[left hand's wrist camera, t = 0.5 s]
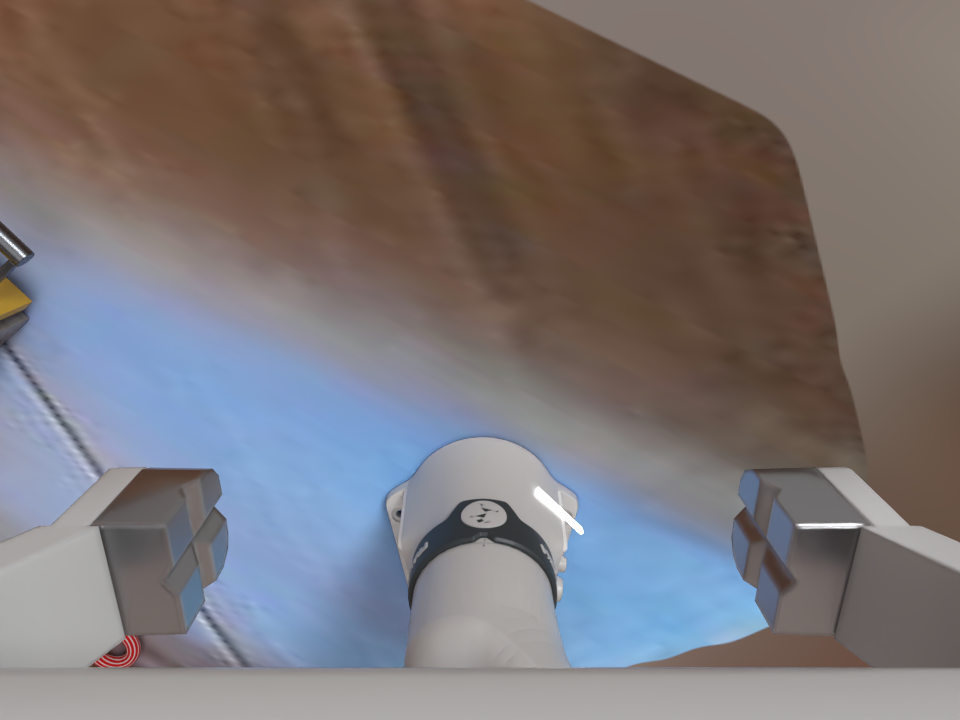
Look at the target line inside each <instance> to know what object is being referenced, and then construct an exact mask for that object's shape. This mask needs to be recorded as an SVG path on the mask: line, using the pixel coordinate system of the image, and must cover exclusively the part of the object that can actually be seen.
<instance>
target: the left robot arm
mask: <svg viewBox="0 0 960 720" xmlns="http://www.w3.org/2000/svg"><path fill="white" fill-rule="evenodd" d="M221 495H222V491H221V486H220V481H219V476H218V474H217V473H216V472H215V471H214V470H213V469H198V468H146V467H123V468H112V469H109V470H108V471H107V472H106V473H105V474H104V475H103V476H102V477H100V478H99V479H98V480H97V481H96V482H95V483H94V484H93V485H92V486H91V487H90V488H89V489H88V490H87V491H86V492H85V493H84V494H83V495H82V496H81V497H80V498H79V499H78V500H77V501H76V502H74V503H73V504H72V505H71V506H70V507H69V508H68V509H67V510H66V511H65V512H64V513H63V514H62V515H61V516H60V517H59V518H58V519H57V520H56V521H55V522H54V523H53V524H52V525H51V526H38V527H36V528H33V529H31V530H29V531H26V532H24V533H22V534H19V535H17V536H15V537H12V538H10V539H7V540H5V541H3V542H0V720H960V543H959V542H957V541H955V540H952V539H950V538H948V537H945V536H943V535H941V534H938V533H936V532H934V531H931V530H929V529H927V528H924V527H922V526H909V525H908V524H907V523H906V522H905V521H904V520H903V519H902V518H901V517H900V516H899V515H898V514H897V513H896V512H895V511H894V510H893V509H892V508H891V507H890V506H889V505H888V504H887V503H886V502H885V501H884V500H883V499H881V498H880V497H879V496H878V495H877V494H876V493H875V492H874V491H873V490H872V489H871V488H870V487H869V486H868V485H867V484H866V483H865V482H864V481H863V480H862V479H861V478H860V477H859V476H858V475H857V474H856V473H855V472H854V471H852V470H851V469H848V468H845V467H826V468H783V469H751V470H745V471H744V473H743V475H742V477H741V480H740V485H739V490H738V495H739V497H740V498H741V500H742V501H743V503H744V504H745V506H746V507H745V508H744V509H743V510H742V511H741V512H740V513H739V514H738V515H737V516H736V517H735V518H734V522H733V530H732V548H733V557H734V560H735V563H736V566H737V569H738V571H739V573H740V575H741V577H742V578H743V580H744V581H746V582H747V583H749V584H750V585H752V586H753V587H755V588H757V592H756V598H755V602H756V604H757V605H758V607H759V609H760V611H761V612H762V614H763V616H764V618H765V619H766V621H767V623H768V625H769V627H770V628H771V630H772V632H773V634H791V635H827V636H835V637H834V638H835V639H836V640H837V641H838V642H840V643H841V644H842V645H844V646H845V647H846V648H847V649H849V650H850V651H851V652H853V653H854V654H855V655H857V656H858V657H859V658H860V659H862V660H863V661H864V662H866V663H867V664H868V665H870V666H871V667H872V668H572V666H571V665H570V663H569V661H568V659H567V656H566V653H565V650H564V646H563V643H562V639H561V635H560V631H559V627H558V623H557V618H556V613H555V608H556V603H557V602H558V601H560V600H561V597H562V592H563V580H562V578H560V577H557V574H558V572H565V570H566V564H567V560H566V557H563V555H564V552H565V551H566V550H567V542H568V539H569V536H570V533H571V530H572V527H573V528H574V529H575V530H576V531H577V532H578V533H580V534H583V529H582V527H581V526H580V525H579V524H578V523H577V522H576V521H574V520H575V517H576V514H577V510H578V499H577V496H576V495H575V494H574V493H573V492H572V491H570V490H569V489H567V488H566V487H564V486H563V485H561V484H559V483H557V482H556V481H555V480H554V479H553V478H552V477H551V475H550V474H549V472H548V471H547V469H546V468H545V467H544V465H543V464H542V463H541V462H540V461H539V460H538V459H537V458H536V457H535V456H534V455H533V454H532V453H530V452H529V451H528V450H526V449H524V448H523V447H521V446H519V445H517V444H515V443H512V442H509V441H506V440H502V439H497V438H490V437H474V438H467V439H462V440H459V441H455V442H453V443H450V444H448V445H446V446H444V447H442V448H440V449H438V450H437V451H435V452H434V453H433V454H432V455H430V456H429V457H428V458H427V459H426V460H425V461H424V462H423V463H422V465H421V466H420V467H419V469H418V470H417V471H416V473H415V474H414V475H413V476H412V477H411V478H410V479H409V480H408V481H406V482H404V483H402V484H401V485H399V486H397V487H395V488H394V489H393V490H391V491H390V492H389V493H388V495H387V497H386V508H387V511H388V515H389V519H390V522H391V526H392V530H393V533H394V537H395V541H396V544H397V548H398V552H399V555H400V559H401V563H402V566H403V570H404V574H405V577H406V581H407V585H408V599H409V606H410V609H411V615H410V622H409V630H408V637H407V645H406V652H405V659H404V668H136V667H89V666H91V665H92V664H93V663H95V662H96V661H97V660H98V659H100V658H101V657H102V656H104V655H105V654H106V653H108V652H109V651H110V650H112V649H113V648H114V647H115V646H117V645H118V644H119V643H121V642H122V641H123V640H125V638H126V637H125V636H133V635H169V634H187V632H188V630H189V628H190V627H191V625H192V623H193V621H194V620H195V618H196V616H197V614H198V612H199V611H200V609H201V607H202V605H203V604H204V602H205V598H204V592H203V588H205V587H207V586H208V585H210V584H211V583H213V582H214V581H216V580H217V578H218V577H219V575H220V573H221V571H222V569H223V567H224V563H225V559H226V555H227V550H228V528H227V521H226V518H225V517H224V516H223V515H222V514H221V513H220V512H219V511H218V510H217V509H216V508H215V507H214V506H215V504H216V503H217V501H218V500H219V498H220V497H221ZM399 510H402V512H401V513H399V512H398V511H399Z"/></svg>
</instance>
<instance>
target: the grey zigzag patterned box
mask: <svg viewBox="0 0 960 720" xmlns="http://www.w3.org/2000/svg"><path fill="white" fill-rule="evenodd" d="M28 320H29V317H27V316H26V315H25V314H24V313H23V312H22V311H20V312H17V313H15V314H13V315H11V316H8V317H6V318H4V319H2V320H0V347H1V346H2V345H3V344H4V343H5V342H6V341H7V340H8V339H9V338H10V337H11V336H12V335H13V334H14V333H15V332H16V331H17V330H18V329H19V328H20V327H21V326H22V325H23V324H24V323H26V322H27V321H28Z"/></svg>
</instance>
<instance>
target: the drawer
mask: <svg viewBox="0 0 960 720" xmlns="http://www.w3.org/2000/svg"><path fill="white" fill-rule="evenodd" d="M0 252H2V253H3V254H4V255H5V256H6V257H7V258H8V259H9V260H8V261H7V262H6V263H5V264H4V265H3V266H2V267H1V268H0V320H2V319H4V318H6V317H8V316H11V315H13V314H15V313H17V312H20V311H22V310H24V309H25V308H26V307H27V306H28V305H29V304H30V303H31V302H32V301H31V300H30V299H29V298H28V297H27V296H26V295H25V294H24V293H23V292H22V291H20V290H19V289H18V288H17V287H16V286H15V285H14V284H13V283H12V282H11V281H10V280H8V279H7V278H6V277H7V276H8V275H9V274H10V273H11V272H12V271H13V270H14V269H15V268H16V267H18V266H21V265H23V264H25V263H27V262H28V261H29V260H30V259H32V258H33V256H34V255H35V254H34V252H32V251H31V250H30V249H29V248H28V247H27V246H26V245H25V244H24V243H23V242H22V241H21V240H20V239H19V238H18V237H17V236H15V235H14V234H13V233H12V232H11V231H10V230H9V229H8V228H7V227H6V226H5V225H4V224H3V223H2V222H1V221H0Z"/></svg>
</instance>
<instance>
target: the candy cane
mask: <svg viewBox="0 0 960 720" xmlns="http://www.w3.org/2000/svg"><path fill="white" fill-rule="evenodd" d="M125 637H126V638H125V640H123V641H122V643H123V644H124V645H125V647H126V651H127V652H126V654H124V655H122V656H112V655H109V654H105V655H104V656H102V657H101V658H100V659H98V660H97V661H96V662H95V663H94V664H95V665H97V666H99V667H129V666H130V665H132V664H133V663H134V662H135V661H136V660H137V659H138V657H139V655H140V651H141V645H140V641H139V639H138V637H137V635H133V636H125Z"/></svg>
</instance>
